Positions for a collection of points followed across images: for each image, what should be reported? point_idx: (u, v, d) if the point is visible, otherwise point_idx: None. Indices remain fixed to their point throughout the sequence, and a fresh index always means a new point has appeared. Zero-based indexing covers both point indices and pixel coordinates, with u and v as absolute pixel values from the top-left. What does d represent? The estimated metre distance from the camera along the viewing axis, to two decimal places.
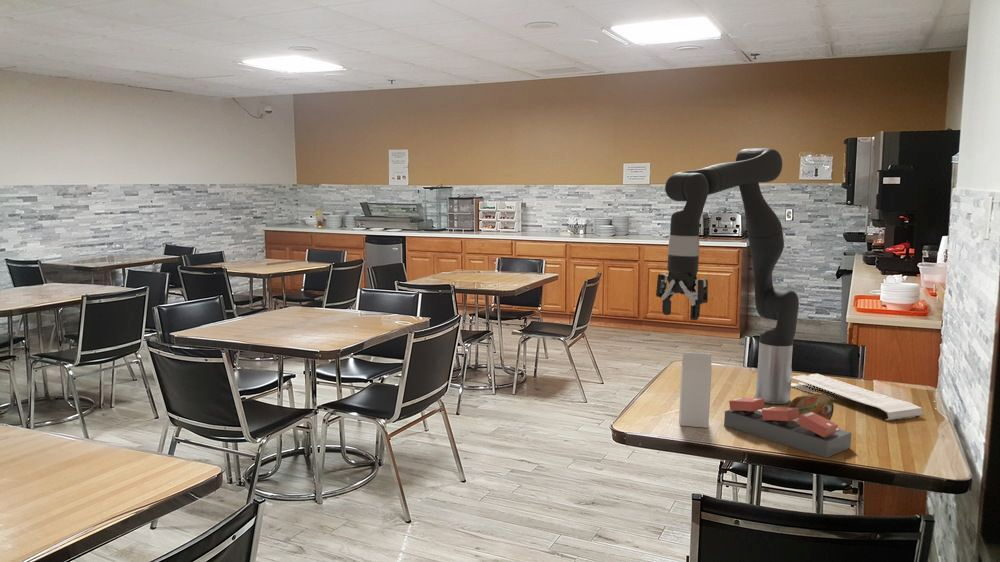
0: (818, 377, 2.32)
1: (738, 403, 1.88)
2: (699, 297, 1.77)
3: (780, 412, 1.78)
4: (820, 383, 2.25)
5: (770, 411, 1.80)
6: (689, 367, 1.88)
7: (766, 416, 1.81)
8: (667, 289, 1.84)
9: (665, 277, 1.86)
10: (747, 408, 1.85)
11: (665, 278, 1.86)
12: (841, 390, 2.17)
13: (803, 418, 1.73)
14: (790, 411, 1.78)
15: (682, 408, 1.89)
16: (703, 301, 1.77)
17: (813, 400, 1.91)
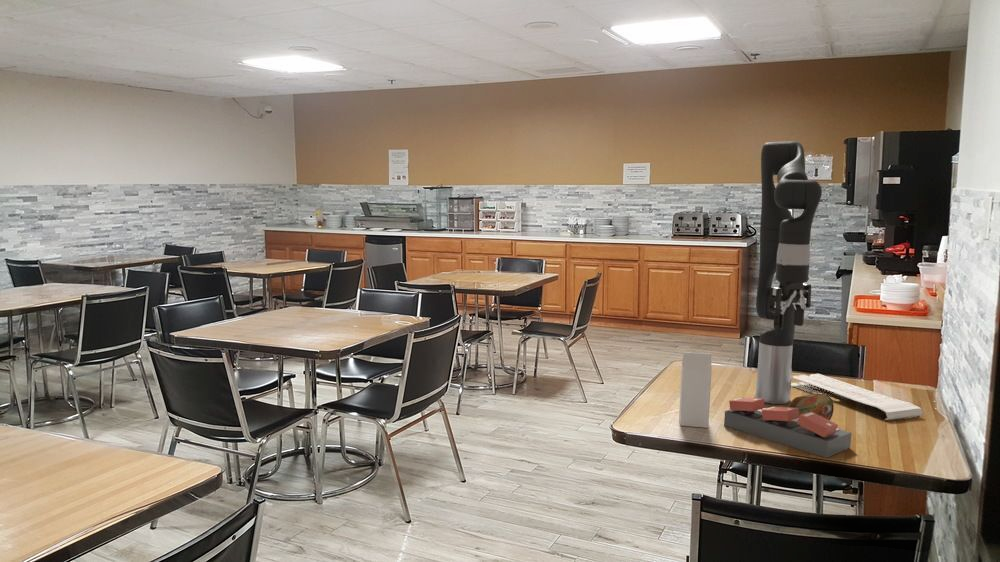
0: (819, 377, 2.32)
1: (738, 403, 1.88)
2: (809, 302, 1.82)
3: (780, 412, 1.78)
4: (820, 383, 2.25)
5: (770, 411, 1.80)
6: (689, 367, 1.88)
7: (766, 416, 1.81)
8: (789, 301, 1.76)
9: None
10: (747, 408, 1.85)
11: None
12: (841, 390, 2.17)
13: (803, 418, 1.73)
14: (790, 411, 1.78)
15: (682, 408, 1.89)
16: None
17: (813, 400, 1.91)
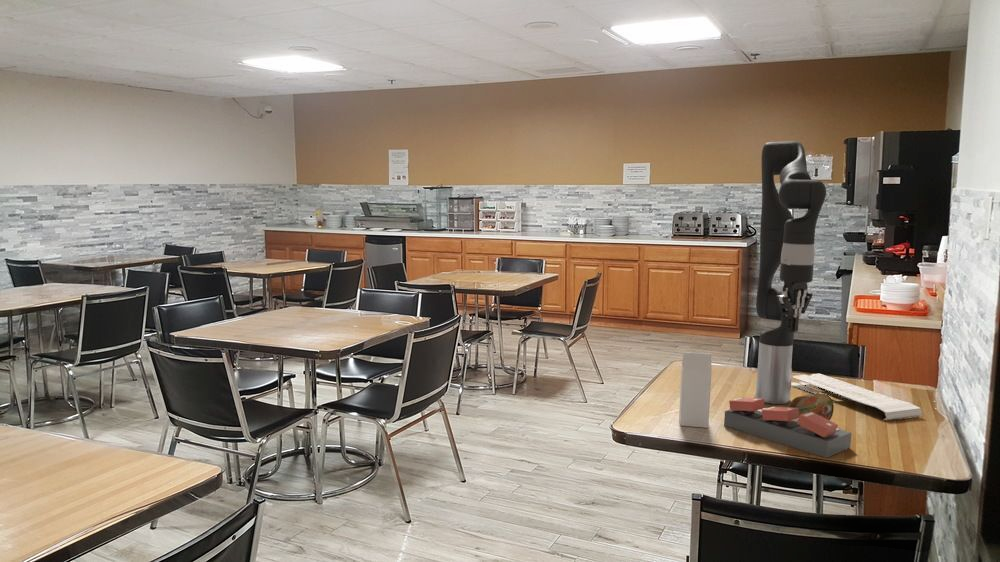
0: (820, 377, 2.32)
1: (738, 403, 1.88)
2: (805, 308, 1.80)
3: (780, 412, 1.78)
4: (821, 383, 2.25)
5: (770, 411, 1.80)
6: (689, 367, 1.88)
7: (766, 416, 1.81)
8: (797, 303, 1.77)
9: (786, 296, 1.75)
10: (747, 408, 1.85)
11: (786, 295, 1.76)
12: (841, 390, 2.17)
13: (803, 418, 1.73)
14: (790, 411, 1.78)
15: (682, 408, 1.89)
16: None
17: (813, 400, 1.91)
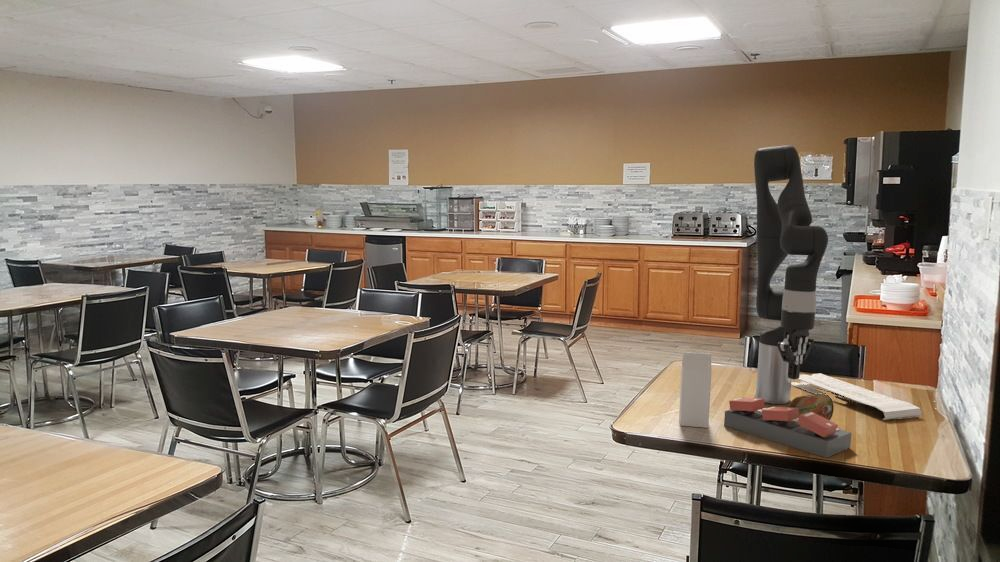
0: (820, 377, 2.32)
1: (738, 403, 1.88)
2: (806, 355, 1.78)
3: (780, 412, 1.78)
4: (821, 382, 2.25)
5: (770, 411, 1.80)
6: (689, 367, 1.88)
7: (766, 416, 1.81)
8: (799, 351, 1.74)
9: (787, 343, 1.73)
10: (747, 408, 1.85)
11: (788, 343, 1.73)
12: (841, 390, 2.17)
13: (803, 418, 1.73)
14: (790, 411, 1.78)
15: (682, 408, 1.89)
16: None
17: (813, 400, 1.91)
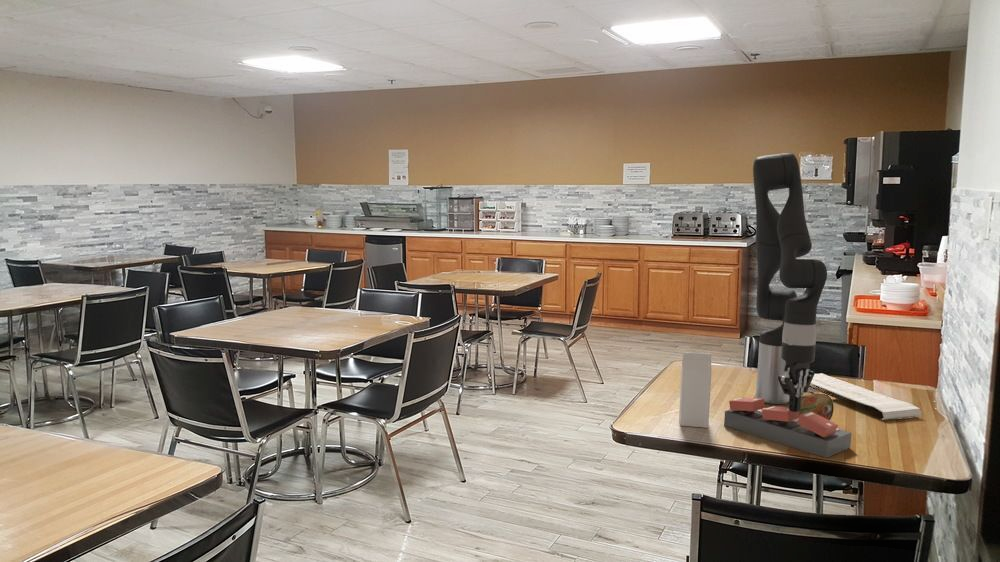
0: (821, 377, 2.32)
1: (738, 403, 1.88)
2: (807, 387, 1.78)
3: (780, 412, 1.78)
4: (822, 382, 2.25)
5: (770, 411, 1.80)
6: (689, 367, 1.88)
7: (766, 416, 1.81)
8: (800, 383, 1.75)
9: (788, 376, 1.74)
10: (747, 408, 1.85)
11: (788, 376, 1.74)
12: (841, 390, 2.17)
13: (803, 418, 1.73)
14: (790, 412, 1.78)
15: (682, 408, 1.89)
16: None
17: (813, 400, 1.91)
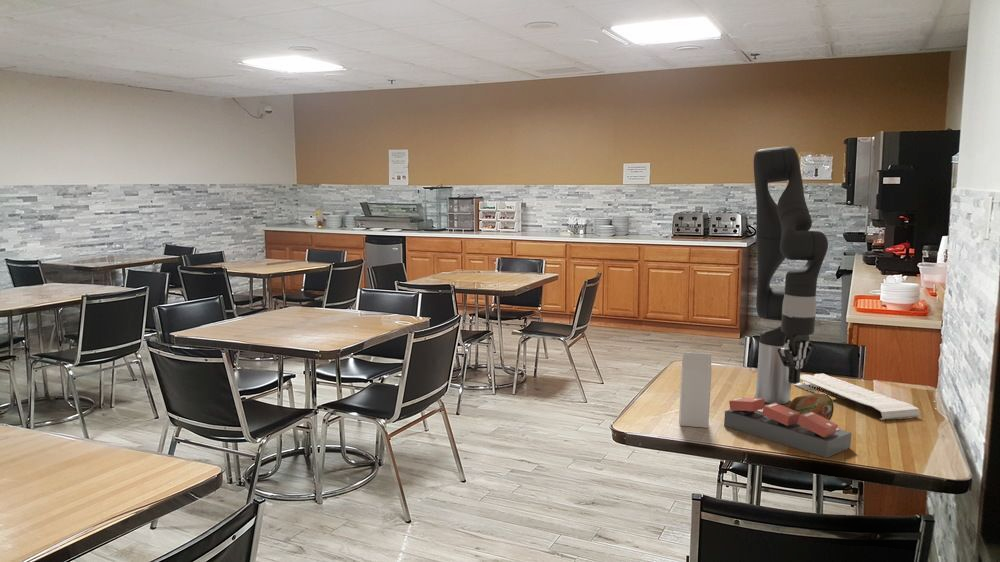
0: (823, 377, 2.32)
1: (738, 403, 1.88)
2: (806, 359, 1.78)
3: (781, 415, 1.78)
4: (822, 382, 2.25)
5: (772, 410, 1.80)
6: (689, 367, 1.88)
7: (766, 413, 1.81)
8: (799, 355, 1.75)
9: (787, 348, 1.73)
10: (747, 408, 1.85)
11: (788, 348, 1.74)
12: (841, 389, 2.18)
13: (803, 418, 1.73)
14: (792, 416, 1.77)
15: (682, 408, 1.89)
16: None
17: (813, 400, 1.91)
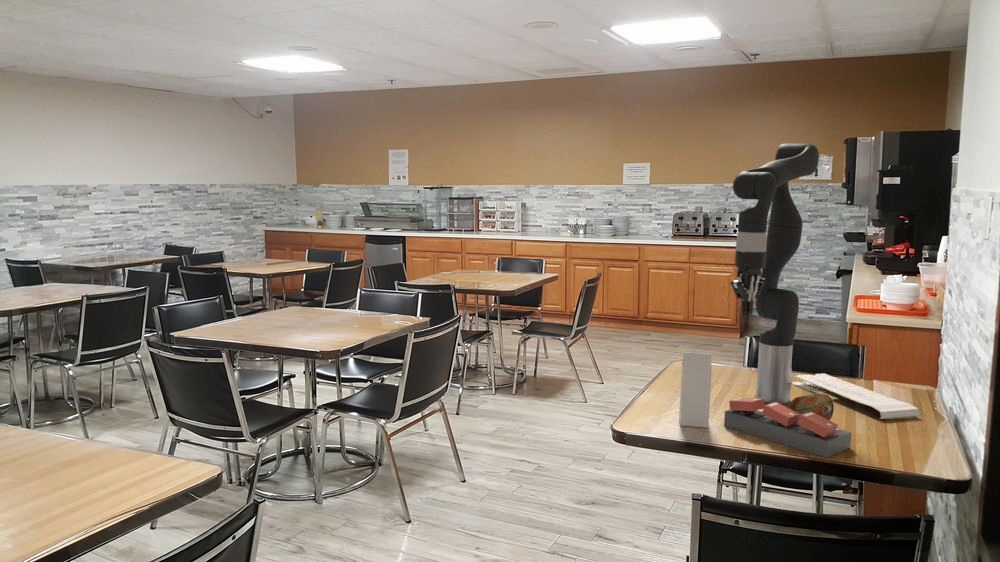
0: (823, 377, 2.32)
1: (738, 403, 1.88)
2: (758, 293, 1.92)
3: (782, 415, 1.78)
4: (823, 382, 2.26)
5: (772, 410, 1.80)
6: (689, 367, 1.88)
7: (766, 412, 1.81)
8: (751, 288, 1.88)
9: (740, 281, 1.87)
10: (747, 408, 1.85)
11: (740, 281, 1.87)
12: (841, 389, 2.18)
13: (803, 418, 1.73)
14: (792, 417, 1.77)
15: (682, 408, 1.89)
16: None
17: (813, 400, 1.91)
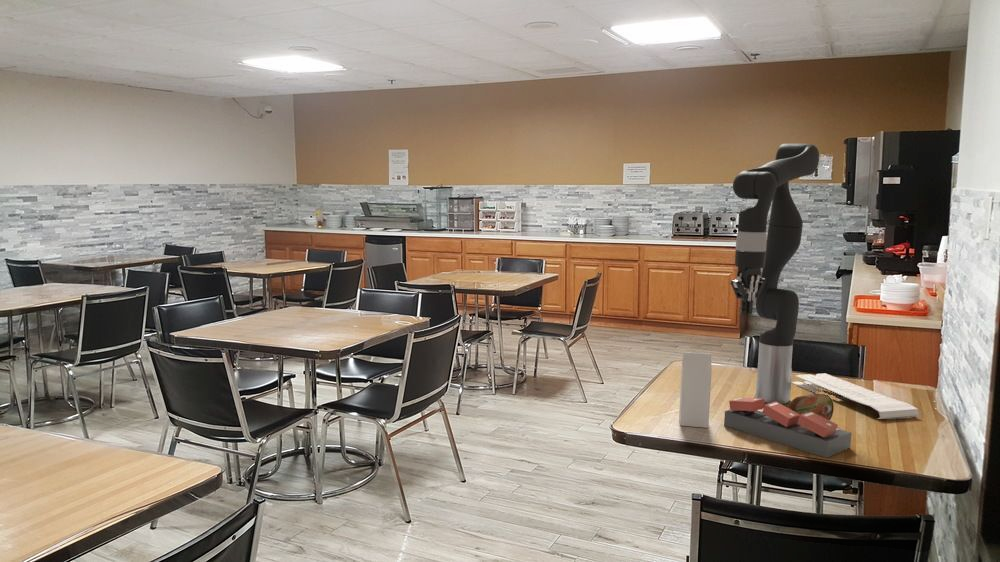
0: (824, 376, 2.33)
1: (738, 403, 1.88)
2: (758, 292, 1.92)
3: (782, 416, 1.78)
4: (823, 382, 2.26)
5: (772, 410, 1.80)
6: (689, 367, 1.88)
7: (766, 412, 1.81)
8: (751, 288, 1.88)
9: (740, 280, 1.87)
10: (747, 408, 1.85)
11: (740, 280, 1.87)
12: (841, 389, 2.18)
13: (803, 418, 1.73)
14: (792, 418, 1.77)
15: (682, 408, 1.89)
16: None
17: (813, 400, 1.91)
